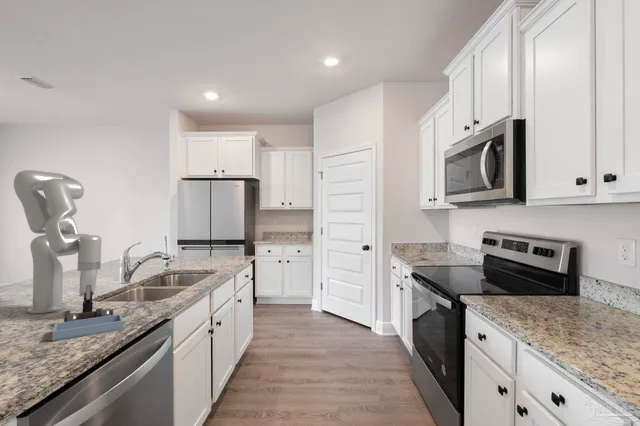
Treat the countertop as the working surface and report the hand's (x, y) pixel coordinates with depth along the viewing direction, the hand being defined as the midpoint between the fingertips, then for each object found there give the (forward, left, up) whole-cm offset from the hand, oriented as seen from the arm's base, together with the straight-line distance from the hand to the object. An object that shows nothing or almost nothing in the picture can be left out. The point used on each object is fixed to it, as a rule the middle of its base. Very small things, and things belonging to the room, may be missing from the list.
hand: (87, 311), depth 128 cm
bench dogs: (+14, 0, -1) cm, 14 cm away
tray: (+22, 0, -1) cm, 22 cm away
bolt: (+10, +1, -2) cm, 10 cm away
